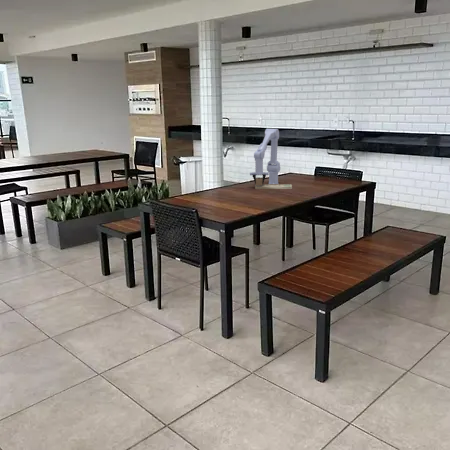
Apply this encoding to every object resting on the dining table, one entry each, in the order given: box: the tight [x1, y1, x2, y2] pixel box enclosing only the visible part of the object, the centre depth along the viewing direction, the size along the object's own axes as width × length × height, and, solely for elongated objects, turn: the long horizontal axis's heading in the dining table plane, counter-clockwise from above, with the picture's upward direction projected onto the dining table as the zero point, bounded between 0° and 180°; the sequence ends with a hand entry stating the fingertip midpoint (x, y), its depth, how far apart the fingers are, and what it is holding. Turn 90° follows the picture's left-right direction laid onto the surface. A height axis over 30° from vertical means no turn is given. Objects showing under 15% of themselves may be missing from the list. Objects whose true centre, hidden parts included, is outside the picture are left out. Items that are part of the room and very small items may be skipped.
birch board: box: [254, 184, 293, 190], centre depth 368 cm, size 10×28×2 cm, turn 84°
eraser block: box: [256, 176, 264, 187], centre depth 368 cm, size 7×5×6 cm
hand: (259, 184), depth 368 cm, fingers closed on eraser block, 5 cm apart
